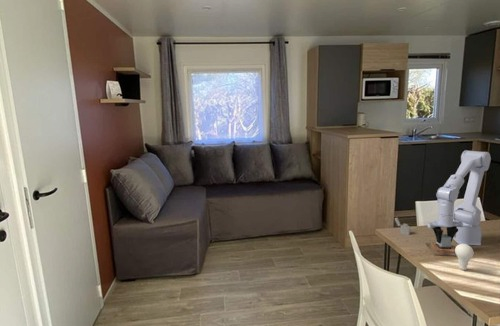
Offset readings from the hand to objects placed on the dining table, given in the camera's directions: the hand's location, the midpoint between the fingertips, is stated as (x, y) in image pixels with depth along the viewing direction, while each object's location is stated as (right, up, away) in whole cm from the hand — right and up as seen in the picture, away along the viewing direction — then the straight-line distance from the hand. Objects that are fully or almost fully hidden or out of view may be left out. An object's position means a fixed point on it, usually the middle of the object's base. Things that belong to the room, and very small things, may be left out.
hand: (443, 242), depth 139 cm
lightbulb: (-2, -7, -16) cm, 18 cm away
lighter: (-8, -1, +22) cm, 23 cm away
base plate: (0, -4, +1) cm, 4 cm away
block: (0, -1, +1) cm, 2 cm away
